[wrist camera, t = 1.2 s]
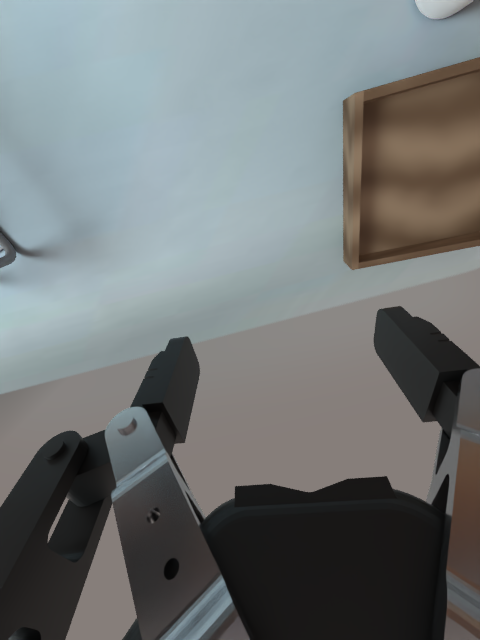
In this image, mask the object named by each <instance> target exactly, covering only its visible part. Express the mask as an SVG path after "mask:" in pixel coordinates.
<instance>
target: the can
mask: <svg viewBox="0 0 480 640" xmlns="http://www.w3.org/2000/svg"><path fill="white" fill-rule="evenodd" d="M473 1H474V0H415V2H416V5H417V7H418V9H419V10H420V11H421V13H422V14H423V15H425V16H426V17H428V18H431V19H444V18H447V17H449V16H451V15H453V14H455V13H457V12H458V11H460V10H461V9H463V8H464V7H466V6H467V5H468V4H470V3H471V2H473Z"/></svg>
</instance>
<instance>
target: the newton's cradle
mask: <svg viewBox="0 0 480 640" xmlns="http://www.w3.org/2000/svg"><path fill="white" fill-rule="evenodd" d="M0 245H1V247H0V251H1V250H2V249H4V250H5V253H6V254H5V256H4V257H1V258H0V268H2V267H4V266H6V265H9V264H11V263H12V262H13V261H14V260H15V258H16V251H15V249H14V247H13V246H12V244H11V243H10V242H9V241H8V240H7V239H6V238H5V237H4V236H3V235H2V234H1V232H0Z"/></svg>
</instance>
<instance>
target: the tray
mask: <svg viewBox="0 0 480 640" xmlns="http://www.w3.org/2000/svg"><path fill="white" fill-rule="evenodd" d="M475 246H480V57H479V58H475V59H472V60H468V61H465V62H461V63H458V64H455V65H451V66H448V67H444V68H441V69H437V70H434V71H430V72H427V73H423V74H420V75H416V76H413V77H409V78H406V79H402V80H399V81H395V82H392V83H389V84H385V85H382V86H378V87H375V88H371V89H368V90H364V91H361V92H357V93H354V94H353V95H351V96H350V97H348V98H347V99H345V100H344V101H343V250H344V262H345V263H346V264H347V265H348V266H349V267H350V268H351V269H352V270H355V269H360V268H365V267H370V266H375V265H381V264H386V263H391V262H396V261H402V260H407V259H412V258H417V257H423V256H428V255H433V254H438V253H443V252H449V251H454V250H459V249H464V248H470V247H475Z"/></svg>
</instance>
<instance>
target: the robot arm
mask: <svg viewBox="0 0 480 640" xmlns="http://www.w3.org/2000/svg"><path fill="white" fill-rule="evenodd" d="M374 347H375V350H376V353H377V354H378V356H379V357H380V359H381V360H382V362H383V363H384V365H385V366H386V368H387V369H388V371H389V372H390V374H391V375H392V377H393V378H394V380H395V381H396V383H397V384H398V386H399V387H400V389H401V390H402V392H403V393H404V395H405V396H406V397H407V399H408V401H409V402H410V404H411V405H412V407H413V408H414V410H415V411H416V413H417V414H418V415H419V417H420V419H421V420H422V421H423V422H432V421H438V423H439V424H440V426H441V427H442V428H441V430H440V434H439V440H438V446H437V451H436V458H435V463H434V470H433V475H432V481H431V485H430V489H429V492H428V495H427V499H426V502H425V501H423V500H421V499H420V498H417V497H415V496H413V495H410V494H408V493H405V492H402V491H399V490H395V489H392V487H391V485H390V482H389V480H388V478H387V476H385V477H371V478H355V479H346V480H344V481H341V482H338V483H336V484H333V485H330V486H328V487H325V488H322V489H320V490H317V491H315V492H303V491H299V490H294V489H290V488H286V487H281V486H276V485H272V484H264V485H250V486H236V487H235V498H234V499H231V500H229V501H227V502H225V503H223V504H222V505H220V506H219V507H218V508H216V509H215V510H214V511H213V512H211V513H210V514H209V515H208V516H207V517H205V515H204V514H203V511H202V510H201V508H200V506H199V504H198V503H197V501H196V499H195V497H194V495H193V493H192V491H191V489H190V487H189V485H188V483H187V481H186V479H185V477H184V475H183V473H182V471H181V469H180V467H179V465H178V463H177V461H176V460H175V458H174V455H173V454H172V451H173V447H174V444H176V443H185V439H186V434H187V430H188V425H189V421H190V416H191V412H192V407H193V402H194V398H195V394H196V389H197V384H198V380H199V374H200V368H199V362H198V360H197V357H196V354H195V352H194V349H193V347H192V344H191V341H190V339H189V337H180V338H173V339H170V340H169V343H168V345H167V347H166V350H165V351H161V352H160V353H159V354H158V355H157V356H156V357H155V358H154V359H153V360H152V362H151V364H150V366H149V369H148V371H147V373H146V375H145V379H143V381H142V383H141V386H140V388H139V390H138V392H137V394H136V396H135V398H134V400H133V403H132V405H131V407H130V408H128V409H125V410H123V411H122V412H120V413H119V414H117V415H116V416H115V417H114V418H113V419H112V420H111V421H110V423H109V424H108V426H107V428H106V430H103V431H100V432H98V433H95V434H93V435H90V436H88V437H85V438H82V437H81V436H80V435H79V434H78V433H77V432H75V431H66V432H63V433H60V434H58V435H56V436H55V437H53V438H52V439H50V440H49V441H48V442H47V443H46V444H44V445H43V446H42V447H41V448H40V449H39V451H38V452H37V453H36V455H35V456H34V458H33V459H32V461H31V463H30V464H29V465H28V467H27V468H26V470H25V471H24V473H23V474H22V476H21V478H20V479H19V480H18V482H17V483H16V485H15V486H14V488H13V489H12V491H11V492H10V494H9V495H8V497H7V498H6V500H5V501H4V503H3V504H2V506H1V507H0V640H65V638H66V636H67V633H68V630H69V627H70V624H71V621H72V618H73V615H74V613H75V610H76V607H77V604H78V601H79V598H80V595H81V592H82V589H83V587H84V583H85V580H86V578H87V575H88V572H89V569H90V566H91V563H92V560H93V557H94V554H95V552H96V549H97V546H98V543H99V540H100V537H101V534H102V531H103V528H104V526H105V522H106V520H107V517H108V514H109V511H110V508H111V505H112V504H113V508H114V513H115V517H116V522H117V527H118V531H119V536H120V541H121V545H122V550H123V554H124V559H125V564H126V568H127V573H128V577H129V582H130V586H131V591H132V595H133V600H134V605H135V609H136V614H137V619H136V620H135V622H134V623H133V625H132V626H131V628H130V629H129V630H128V632H127V633H126V635H125V637H124V638H123V639H122V640H480V366H479V365H478V364H477V363H475V362H474V361H473V360H472V359H471V358H470V357H469V356H468V355H467V354H465V353H464V352H463V351H462V350H461V349H460V348H459V347H458V346H456V345H455V344H454V343H453V342H452V341H449V339H448V338H447V337H446V336H445V335H444V334H441V332H440V331H439V330H438V329H437V328H436V327H435V326H434V325H433V324H432V323H430V322H427V321H426V320H423V319H421V318H419V317H412V316H411V315H410V314H409V313H408V312H407V311H406V310H404V308H402V307H401V306H398V307H391V308H384V309H379V310H378V312H377V317H376V325H375V333H374ZM66 497H67V498H68V499H69V500H68V503H67V505H66V507H65V509H64V511H63V513H62V515H61V517H60V519H59V521H58V524H57V526H56V528H55V530H54V532H53V534H52V536H51V538H50V540H49V542H48V543H47V540H48V534H49V531H50V528H51V526H52V524H53V522H54V520H55V518H56V516H57V514H58V512H59V510H60V507H61V506H62V504H63V502H64V500H65V498H66Z"/></svg>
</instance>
